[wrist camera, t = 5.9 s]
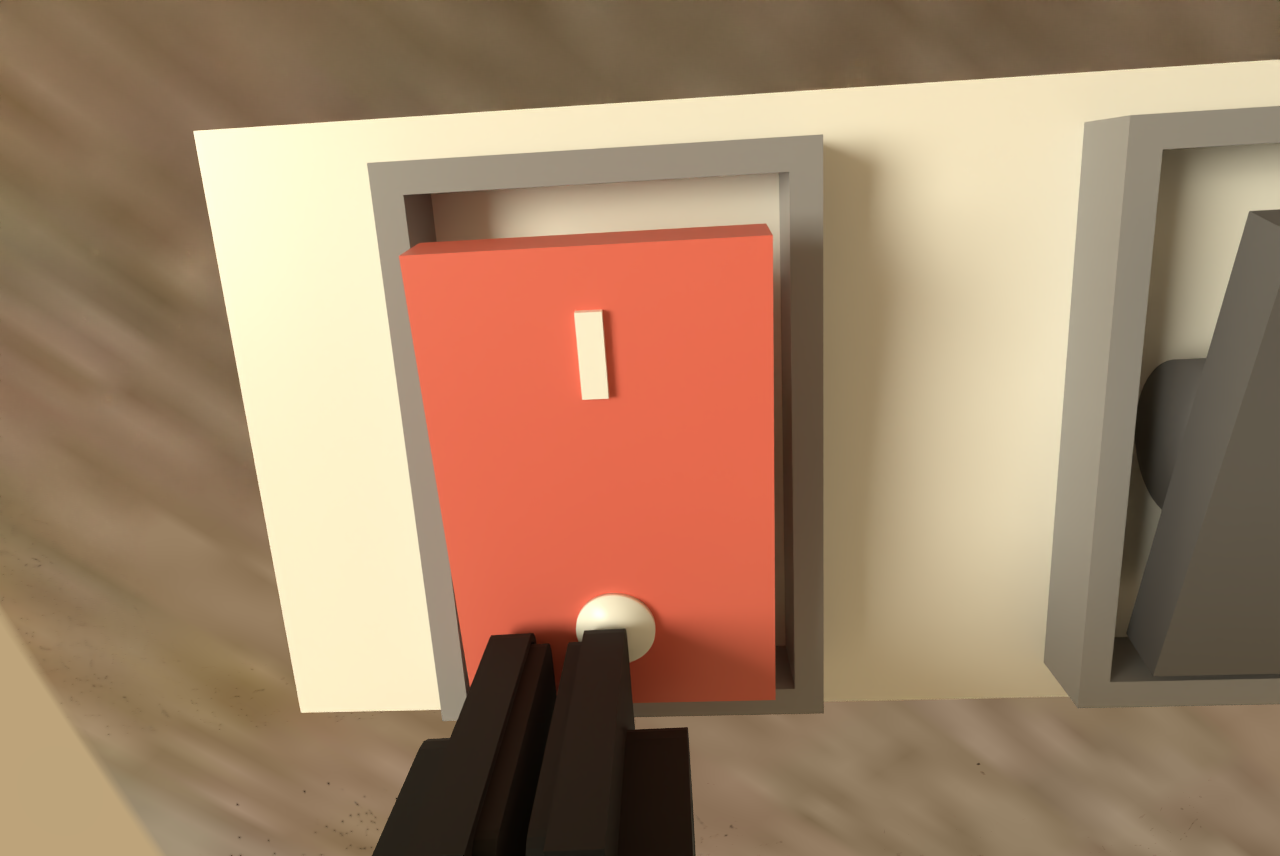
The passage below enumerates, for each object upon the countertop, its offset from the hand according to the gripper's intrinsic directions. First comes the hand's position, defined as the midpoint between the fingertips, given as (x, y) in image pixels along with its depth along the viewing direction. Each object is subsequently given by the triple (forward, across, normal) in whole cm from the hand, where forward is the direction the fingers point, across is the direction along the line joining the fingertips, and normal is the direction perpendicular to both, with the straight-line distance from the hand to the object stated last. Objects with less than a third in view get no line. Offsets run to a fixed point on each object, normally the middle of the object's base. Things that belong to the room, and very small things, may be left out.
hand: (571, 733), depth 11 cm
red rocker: (+1, -1, -3) cm, 4 cm away
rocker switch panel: (+6, -5, -3) cm, 9 cm away
